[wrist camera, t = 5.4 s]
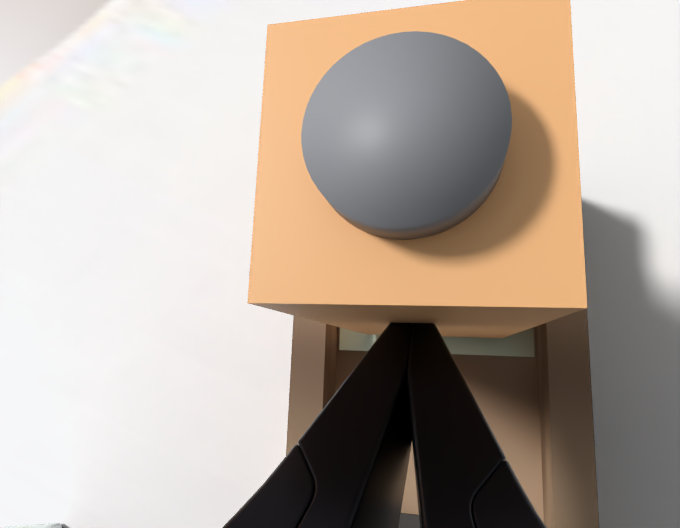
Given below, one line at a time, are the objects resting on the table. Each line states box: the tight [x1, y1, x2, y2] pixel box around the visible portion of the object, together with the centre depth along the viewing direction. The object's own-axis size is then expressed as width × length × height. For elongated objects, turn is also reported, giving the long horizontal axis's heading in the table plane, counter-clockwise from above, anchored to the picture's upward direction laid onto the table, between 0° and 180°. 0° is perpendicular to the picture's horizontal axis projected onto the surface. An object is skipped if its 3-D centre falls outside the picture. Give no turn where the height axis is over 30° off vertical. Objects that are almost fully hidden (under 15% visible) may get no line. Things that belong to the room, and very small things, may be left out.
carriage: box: [248, 0, 587, 338], centre depth 10 cm, size 4×4×10 cm
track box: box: [286, 308, 599, 528], centre depth 14 cm, size 13×8×3 cm, turn 178°
